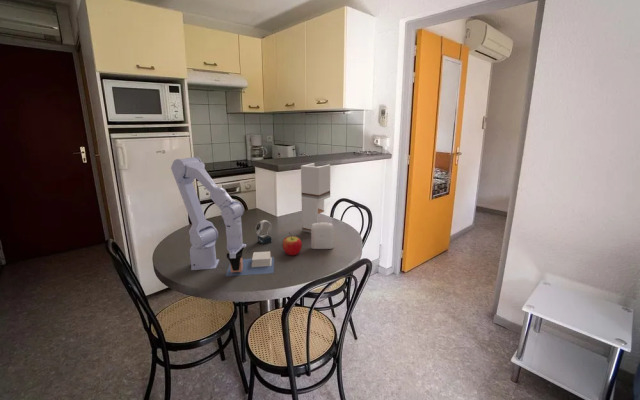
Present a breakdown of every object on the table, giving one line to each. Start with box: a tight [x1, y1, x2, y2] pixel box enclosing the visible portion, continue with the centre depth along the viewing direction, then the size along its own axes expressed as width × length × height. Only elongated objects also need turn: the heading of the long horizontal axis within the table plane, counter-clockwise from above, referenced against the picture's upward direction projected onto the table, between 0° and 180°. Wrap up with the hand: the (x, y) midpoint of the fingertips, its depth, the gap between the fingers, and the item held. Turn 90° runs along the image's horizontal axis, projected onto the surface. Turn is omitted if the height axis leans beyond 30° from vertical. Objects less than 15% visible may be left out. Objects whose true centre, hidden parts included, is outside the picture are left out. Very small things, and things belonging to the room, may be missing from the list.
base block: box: [251, 250, 272, 266], centre depth 125 cm, size 7×7×3 cm
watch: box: [254, 219, 273, 245], centre depth 145 cm, size 6×8×11 cm
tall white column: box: [300, 162, 331, 234], centre depth 159 cm, size 11×11×35 cm
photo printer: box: [310, 221, 335, 250], centre depth 138 cm, size 10×4×12 cm, turn 89°
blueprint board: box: [225, 256, 275, 277], centre depth 122 cm, size 18×14×1 cm
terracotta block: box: [229, 257, 243, 272], centre depth 117 cm, size 4×4×4 cm
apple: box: [282, 232, 303, 256], centre depth 132 cm, size 8×8×10 cm
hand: (236, 267), depth 117 cm, fingers closed on terracotta block, 4 cm apart
